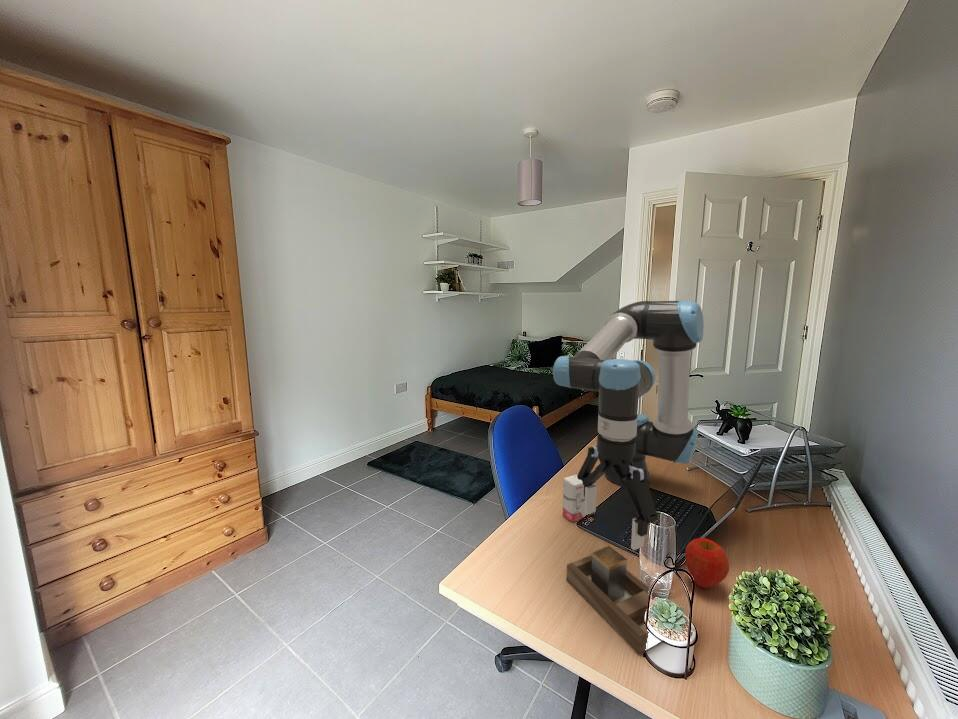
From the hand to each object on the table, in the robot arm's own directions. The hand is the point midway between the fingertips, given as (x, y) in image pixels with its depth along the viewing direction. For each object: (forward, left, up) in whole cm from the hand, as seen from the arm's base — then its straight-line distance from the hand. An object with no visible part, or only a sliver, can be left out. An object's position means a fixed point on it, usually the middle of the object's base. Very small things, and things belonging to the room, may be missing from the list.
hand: (611, 528), depth 82 cm
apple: (-21, +8, -16) cm, 28 cm away
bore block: (0, +3, -16) cm, 16 cm away
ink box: (-14, -27, -16) cm, 35 cm away
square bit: (0, 0, -15) cm, 15 cm away
